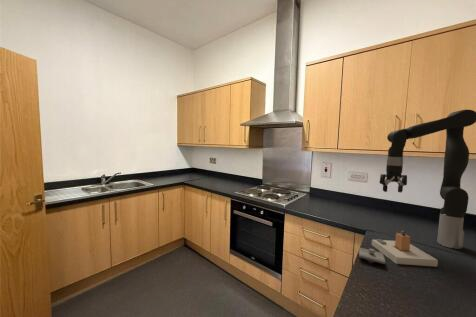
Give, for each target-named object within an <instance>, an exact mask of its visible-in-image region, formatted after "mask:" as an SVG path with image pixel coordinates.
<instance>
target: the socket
mask: <svg viewBox="0 0 476 317" xmlns="http://www.w3.org/2000/svg"><path fill="white" fill-rule="evenodd" d="M371 246H372V247H374V248H375V249H376V250H378V252H380V253H383V255H384V257H387V258H388V259H389V260H391V261H392V262H393V263H394V264H396V265H406V266H407V265H409V266H411V265H412V266H423V267H435V268H436V267H438V265H439V264H438V263H439V260H438V259H437V258H435V257H433V256H431V255H430V254H428V253H426V252H424V251H423V250H422V249H420V248H418V247H416V246H414V245H413V244H412V243H410V250H409V252H403V251H399V250H398V249H396V248H395V240H387V239H380V238H376V239H371Z"/></svg>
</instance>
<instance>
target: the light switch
mask: <svg viewBox="0 0 476 317" xmlns="http://www.w3.org/2000/svg"><path fill="white" fill-rule="evenodd" d="M358 255H359V256H358V257H359V258H361V259H363V260H366V261H367V263H369V264H374V263H375V262H376V263H379V264H382V265H386V259H385V255H384V254H383V253H382V252H380V251H376V250H375V249H373V248H368V249H367V248H365V247H358Z"/></svg>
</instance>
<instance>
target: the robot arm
mask: <svg viewBox="0 0 476 317" xmlns="http://www.w3.org/2000/svg"><path fill="white" fill-rule="evenodd" d="M475 123H476V111H475V110H473V109H460V110H457V111H454V112H451V113H449V114H448V115H447V116H446V117H444V118H440V119H437V120H436V119H435V120H432V121H431V120H430V121H427V122H423V123H418V124H415V125H412V126H409V127H407V128H402V129H397V130H394V131H391V132H390V133H388V134H387V140H388V142H390V143H391V146H389V148H388V151H387V153H388V154H387V159H386V168H385V171H386V174H384V173H380V177H379V184H381V185H382V191H383V192H385V193H387V192H388V185H389V184H391V183H397V192H398V193H403V190H404V186H407V184H408V176H407V175H406V174H402V173H403V165H404V149H405V146H406V143H407V140H411V139H417V138H420V137H423V136H424V137H426V136H428V135H431V134H435V133H437V132H442V131H445V134H446V137H445V150H444V158H443V173H442V181H441V185H440V190H439V196H440V197H441V199H443V206H442V207H441V208H440V210H439V211H440V212H439V220H438V230H437V241H436V243H437V242H438V243H439V245H440V244H441V245H440V246H443V247H447V248H450V249H453V248H454V249H455V250H460V249H463V248H464V247H463V246H464V238H465V231H464V229H463V228H464V222H465V221H464V219H465V214H466V213H467V210H468V205H469V200H470V199H469V198H470V197H469V194H468V192H467V191H466V190H465V189H463V188H461V180H462V178H463V177H462V176H463V174H464V173H465V171H466V169H467V167H468V164H469V159H470V150H469V147H468V144H467V143H466V141H465V139H464V130H465V128H466V127H470V126H473V125H474V124H475ZM438 243H437V244H438Z"/></svg>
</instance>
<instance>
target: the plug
mask: <svg viewBox="0 0 476 317" xmlns="http://www.w3.org/2000/svg"><path fill="white" fill-rule="evenodd" d="M406 233H407V232H406V231H405V230H401V232H400V233H399V232H396V233H395V240H394V241H395V248H396V249H398V250H399V251H403V252H409V250H410V244H411V238H412V237H411V236H409V235H407V234H406Z"/></svg>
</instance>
